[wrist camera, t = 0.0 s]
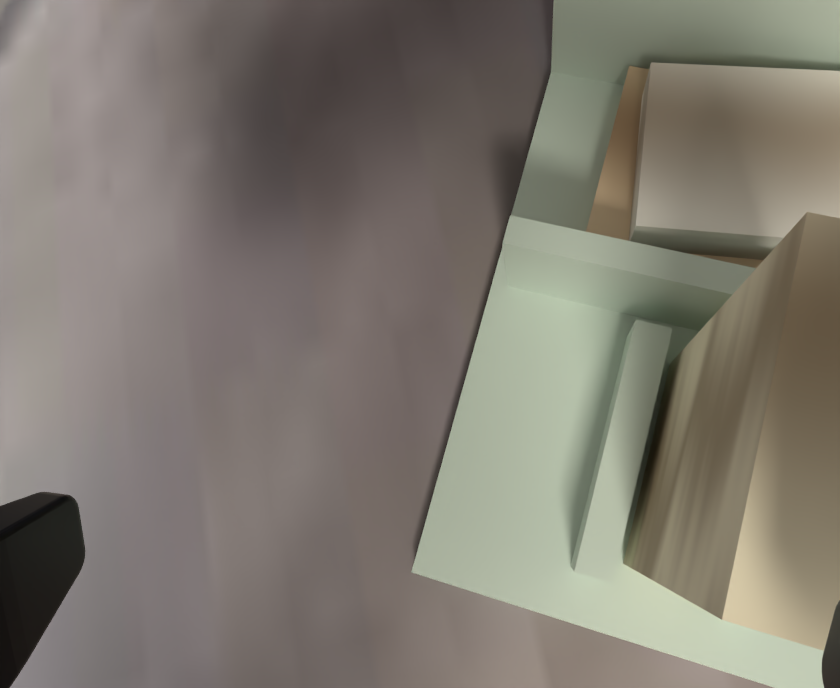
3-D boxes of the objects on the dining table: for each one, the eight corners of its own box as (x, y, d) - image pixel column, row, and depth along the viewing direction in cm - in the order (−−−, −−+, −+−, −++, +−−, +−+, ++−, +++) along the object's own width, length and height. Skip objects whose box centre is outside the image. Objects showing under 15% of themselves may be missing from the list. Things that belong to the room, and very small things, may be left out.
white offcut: (899, 271, 21) (933, 249, 19) (627, 248, 22) (635, 225, 20) (903, 109, 22) (935, 75, 20) (642, 96, 23) (650, 62, 21)
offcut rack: (906, 725, 21) (1077, 824, 14) (415, 570, 24) (369, 592, 17) (1002, 142, 24) (1181, 0, 17) (556, 64, 26) (563, -84, 20)
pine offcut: (888, 324, 22) (918, 308, 21) (581, 256, 24) (584, 236, 22) (920, 150, 23) (951, 121, 22) (622, 96, 25) (629, 65, 23)
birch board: (709, 589, 21) (913, 678, 10) (623, 563, 22) (721, 619, 10) (752, 384, 22) (985, 247, 11) (669, 364, 23) (807, 212, 11)
